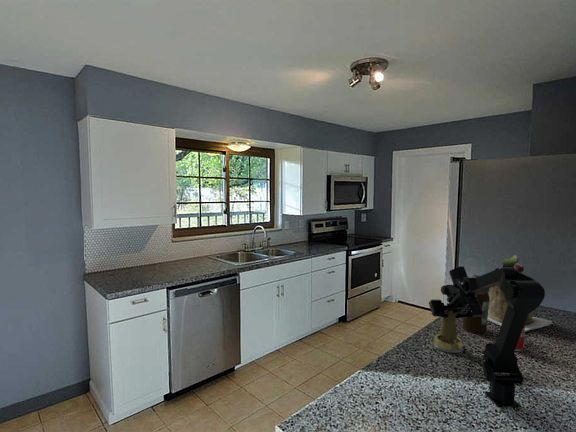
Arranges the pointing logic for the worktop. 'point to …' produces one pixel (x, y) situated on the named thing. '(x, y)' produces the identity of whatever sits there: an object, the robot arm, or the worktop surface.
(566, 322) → the worktop surface
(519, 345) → the beverage can
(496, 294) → the cookie jar
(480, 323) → the olive oil
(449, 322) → the cork
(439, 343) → the collar socket
